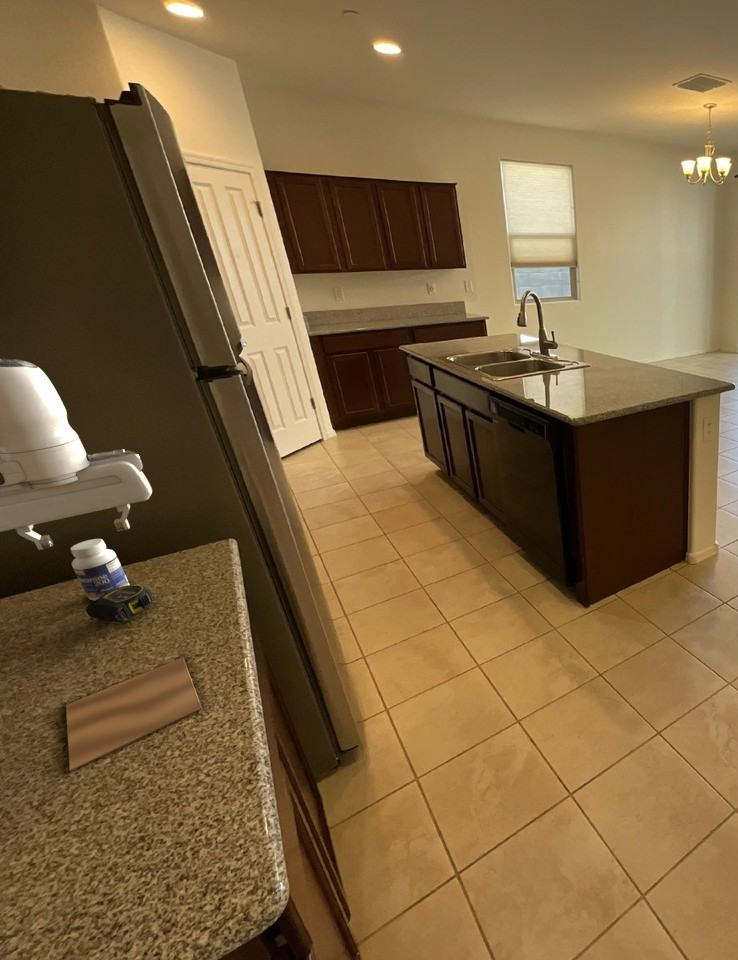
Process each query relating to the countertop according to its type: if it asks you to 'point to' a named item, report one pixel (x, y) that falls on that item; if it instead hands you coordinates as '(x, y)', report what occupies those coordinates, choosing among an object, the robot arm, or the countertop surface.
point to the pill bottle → (97, 568)
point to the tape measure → (121, 603)
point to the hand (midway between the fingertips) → (86, 538)
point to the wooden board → (129, 711)
